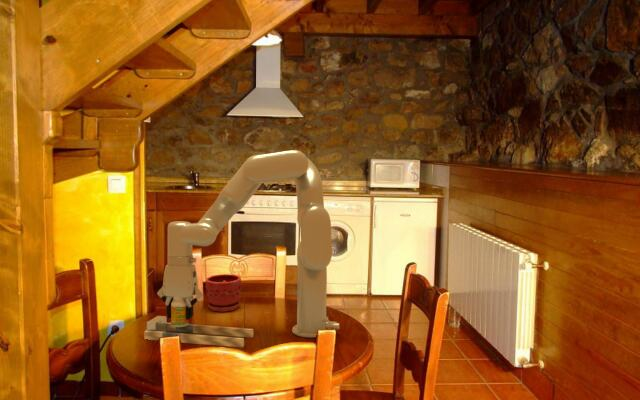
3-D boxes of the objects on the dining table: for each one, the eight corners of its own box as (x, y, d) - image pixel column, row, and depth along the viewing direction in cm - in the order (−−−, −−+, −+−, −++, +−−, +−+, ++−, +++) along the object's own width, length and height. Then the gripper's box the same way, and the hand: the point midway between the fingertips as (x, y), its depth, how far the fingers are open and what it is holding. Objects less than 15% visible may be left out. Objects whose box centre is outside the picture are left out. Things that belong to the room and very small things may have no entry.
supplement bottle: (174, 328, 159) (174, 297, 158) (168, 324, 163) (168, 293, 163) (191, 325, 162) (191, 295, 161) (185, 321, 166) (185, 291, 166)
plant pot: (206, 304, 200) (206, 274, 199) (240, 303, 202) (240, 273, 202) (205, 314, 187) (204, 281, 186) (241, 313, 190) (241, 280, 189)
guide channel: (253, 336, 163) (253, 321, 163) (242, 347, 154) (242, 331, 153) (160, 329, 169) (160, 314, 169) (144, 339, 160) (144, 323, 159)
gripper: (210, 260, 163) (210, 316, 164) (160, 257, 166) (160, 312, 168) (200, 264, 156) (200, 323, 157) (148, 261, 159) (148, 319, 160)
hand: (180, 317), depth 162 cm, fingers closed on supplement bottle, 5 cm apart
